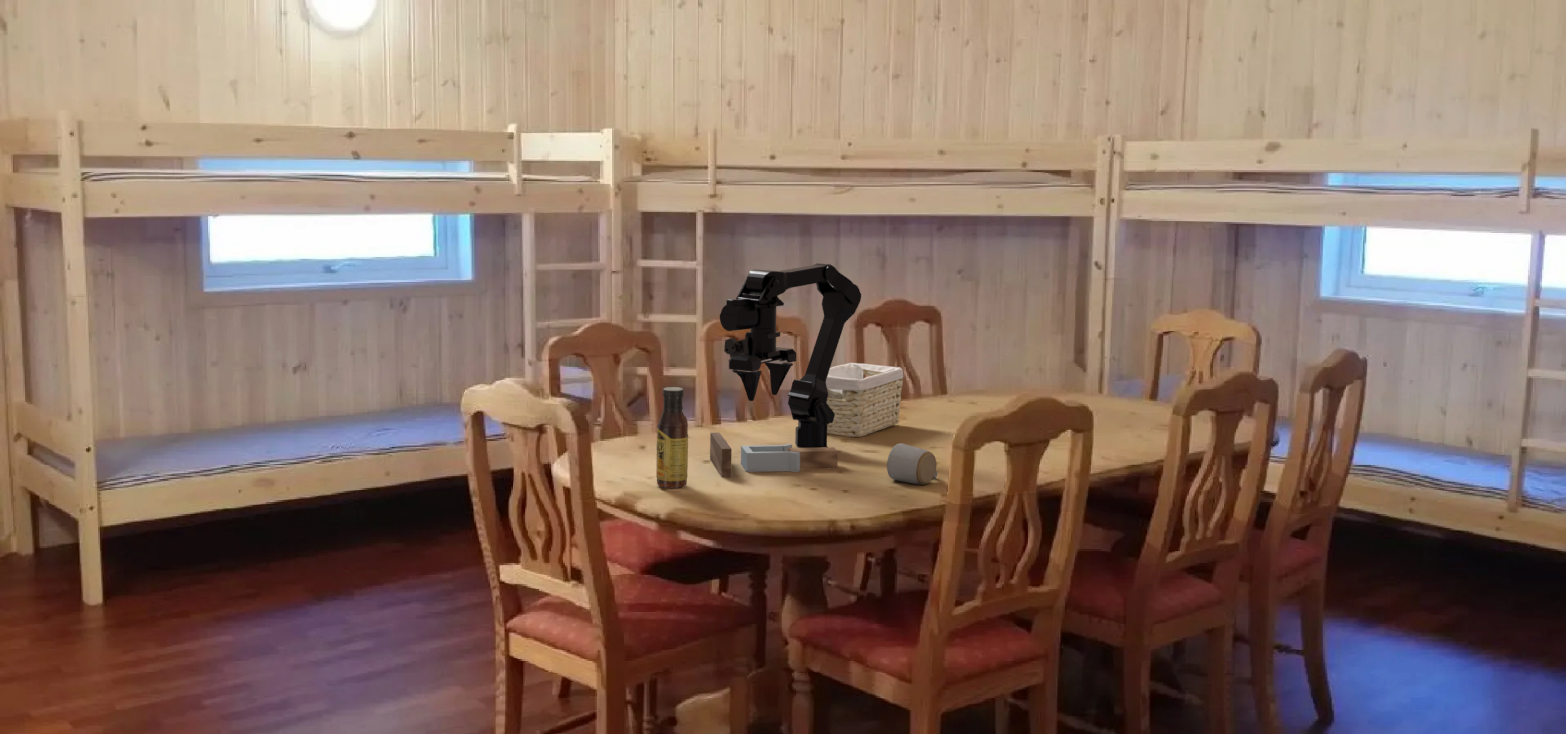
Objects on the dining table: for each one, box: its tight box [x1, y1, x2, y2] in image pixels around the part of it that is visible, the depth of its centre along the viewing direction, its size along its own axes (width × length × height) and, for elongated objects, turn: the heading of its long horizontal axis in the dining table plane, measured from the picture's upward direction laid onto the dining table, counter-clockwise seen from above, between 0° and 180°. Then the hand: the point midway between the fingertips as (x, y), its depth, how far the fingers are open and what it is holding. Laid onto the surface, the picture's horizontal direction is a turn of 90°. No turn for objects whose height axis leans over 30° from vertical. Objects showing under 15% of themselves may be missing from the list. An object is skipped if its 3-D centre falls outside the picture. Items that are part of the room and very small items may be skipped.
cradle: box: [740, 443, 801, 473], centre depth 308 cm, size 11×11×4 cm
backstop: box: [709, 432, 733, 478], centre depth 306 cm, size 2×18×6 cm, turn 10°
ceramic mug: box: [886, 442, 939, 486], centre depth 298 cm, size 11×8×8 cm
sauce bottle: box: [655, 386, 689, 489], centre depth 288 cm, size 7×6×20 cm
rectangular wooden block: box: [788, 446, 839, 470], centre depth 310 cm, size 10×4×4 cm, turn 101°
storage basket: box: [826, 362, 904, 438], centre depth 356 cm, size 24×16×15 cm
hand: (762, 397), depth 318 cm, fingers open, 9 cm apart
